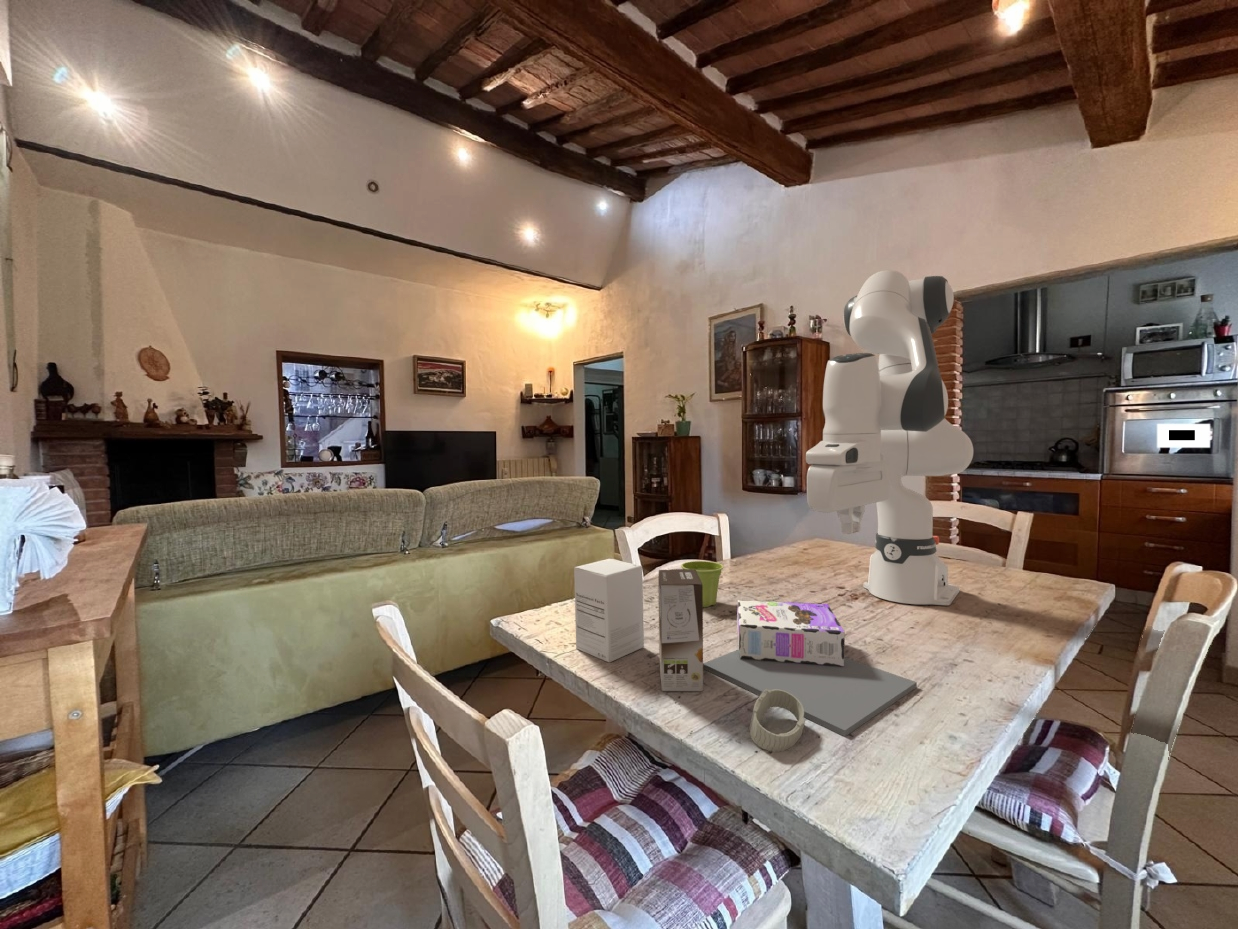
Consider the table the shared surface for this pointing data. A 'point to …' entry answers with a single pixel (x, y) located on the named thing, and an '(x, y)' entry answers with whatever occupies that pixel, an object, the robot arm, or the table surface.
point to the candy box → (789, 632)
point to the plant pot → (707, 578)
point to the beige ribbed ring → (770, 739)
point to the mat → (819, 687)
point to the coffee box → (680, 630)
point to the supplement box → (609, 608)
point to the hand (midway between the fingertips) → (850, 532)
